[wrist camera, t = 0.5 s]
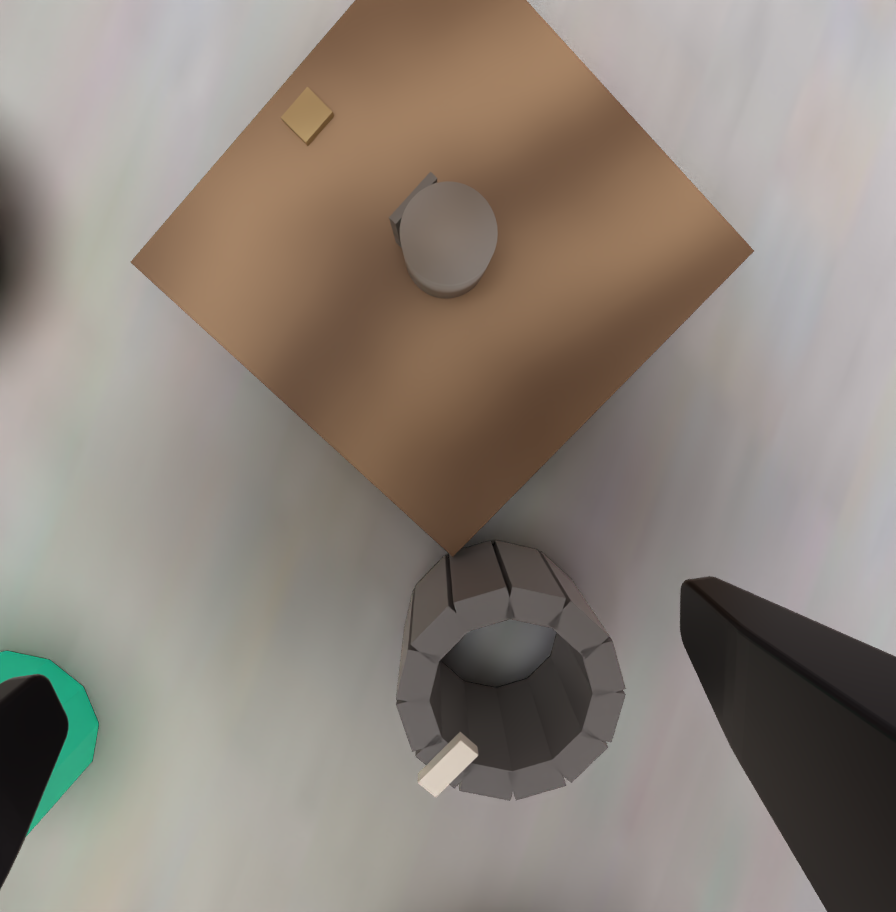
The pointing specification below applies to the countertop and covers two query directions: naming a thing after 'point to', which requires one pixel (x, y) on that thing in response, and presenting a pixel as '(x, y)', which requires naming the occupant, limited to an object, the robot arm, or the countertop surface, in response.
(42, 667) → the candle
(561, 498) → the countertop surface
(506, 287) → the square brown plate
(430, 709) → the gray faceted pot
